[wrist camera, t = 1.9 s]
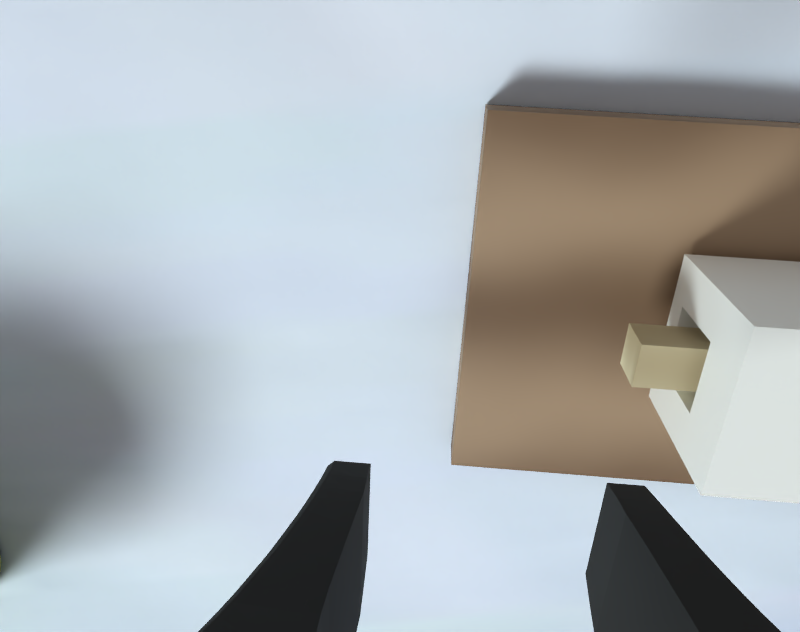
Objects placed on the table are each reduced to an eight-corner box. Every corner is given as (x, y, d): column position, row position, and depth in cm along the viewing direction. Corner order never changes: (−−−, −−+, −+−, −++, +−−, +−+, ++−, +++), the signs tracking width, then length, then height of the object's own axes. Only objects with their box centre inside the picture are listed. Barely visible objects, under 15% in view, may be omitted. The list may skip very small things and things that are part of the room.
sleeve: (823, 408, 19) (921, 513, 15) (648, 395, 19) (700, 495, 15) (879, 267, 17) (1008, 344, 13) (684, 254, 17) (754, 326, 13)
